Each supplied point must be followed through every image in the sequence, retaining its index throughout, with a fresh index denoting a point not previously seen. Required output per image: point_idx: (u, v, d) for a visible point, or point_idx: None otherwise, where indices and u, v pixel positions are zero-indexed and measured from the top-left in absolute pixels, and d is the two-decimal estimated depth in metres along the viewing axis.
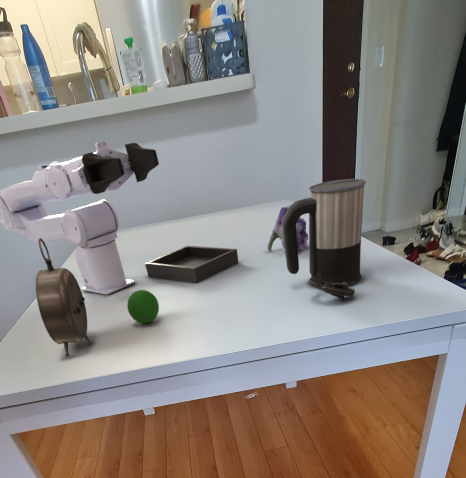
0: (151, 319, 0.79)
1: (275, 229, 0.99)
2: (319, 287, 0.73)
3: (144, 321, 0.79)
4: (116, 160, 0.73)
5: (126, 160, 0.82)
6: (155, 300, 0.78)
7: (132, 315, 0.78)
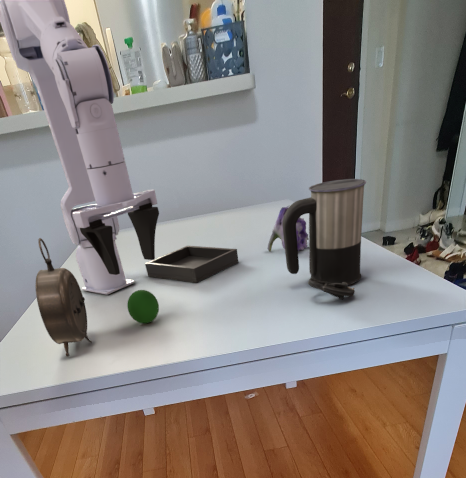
0: (151, 319, 0.79)
1: (275, 229, 0.99)
2: (319, 287, 0.73)
3: (144, 321, 0.79)
4: (115, 273, 0.72)
5: None
6: (155, 300, 0.78)
7: (132, 315, 0.78)
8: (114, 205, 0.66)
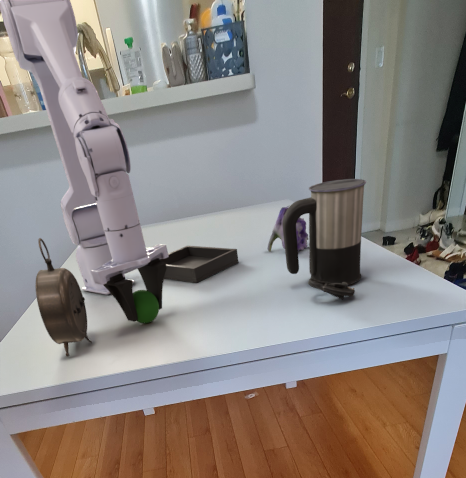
0: (151, 319, 0.79)
1: (275, 229, 0.99)
2: (319, 287, 0.73)
3: (144, 321, 0.79)
4: (134, 320, 0.77)
5: None
6: (155, 300, 0.78)
7: None
8: (129, 263, 0.71)
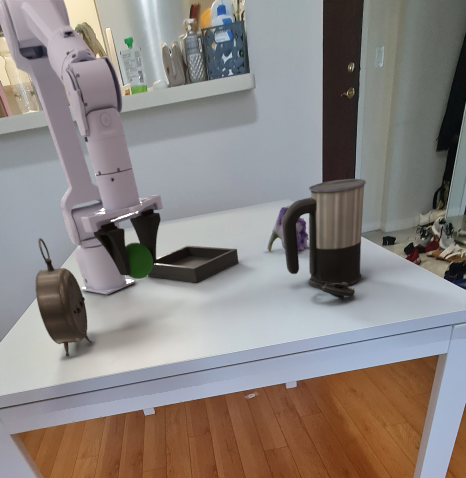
0: (144, 274, 0.76)
1: (275, 229, 0.99)
2: (319, 287, 0.73)
3: (137, 276, 0.76)
4: (126, 274, 0.74)
5: None
6: (149, 253, 0.75)
7: None
8: (121, 210, 0.68)
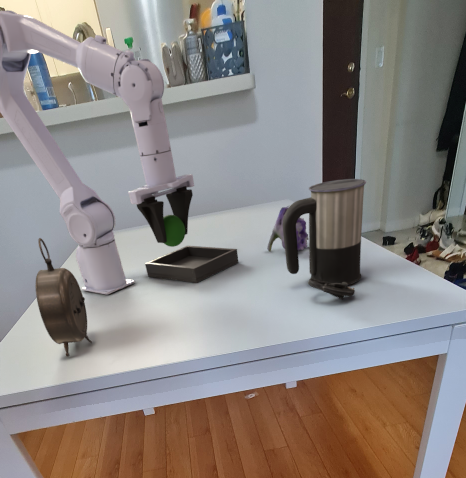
0: (178, 242, 0.89)
1: (275, 229, 0.99)
2: (319, 287, 0.73)
3: (172, 243, 0.89)
4: (163, 241, 0.88)
5: None
6: (182, 224, 0.88)
7: None
8: (161, 186, 0.81)
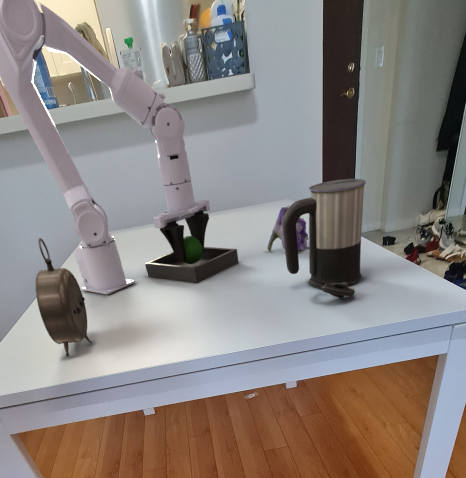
0: (196, 260, 0.99)
1: (275, 229, 0.99)
2: (319, 287, 0.73)
3: (191, 261, 0.99)
4: (182, 260, 0.97)
5: None
6: (200, 244, 0.98)
7: None
8: (182, 211, 0.91)
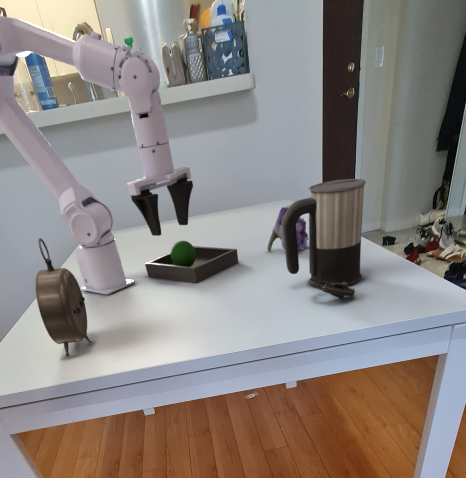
0: (193, 261, 0.99)
1: (275, 229, 0.99)
2: (319, 287, 0.73)
3: (190, 266, 0.99)
4: (158, 234, 0.89)
5: None
6: (189, 245, 0.97)
7: None
8: (160, 177, 0.83)
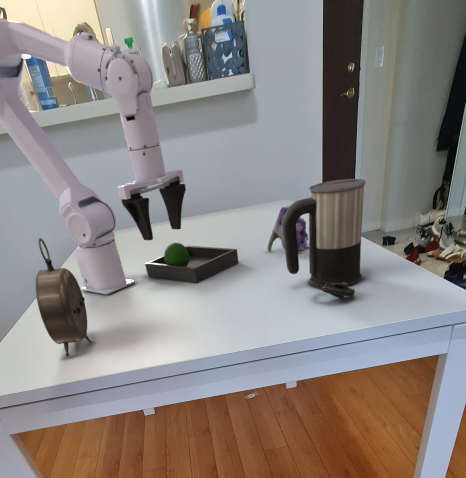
0: (188, 258, 0.98)
1: (275, 229, 0.99)
2: (319, 287, 0.73)
3: (187, 264, 0.98)
4: (149, 238, 0.86)
5: None
6: (177, 248, 0.95)
7: None
8: (151, 181, 0.81)
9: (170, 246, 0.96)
